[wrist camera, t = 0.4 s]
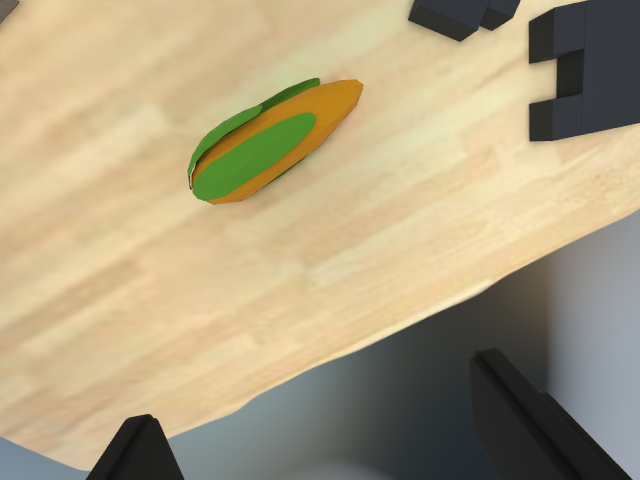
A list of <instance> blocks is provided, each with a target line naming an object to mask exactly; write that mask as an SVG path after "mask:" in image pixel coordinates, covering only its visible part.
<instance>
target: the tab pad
mask: <svg viewBox="0 0 640 480" xmlns="http://www.w3.org/2000/svg"><path fill="white" fill-rule="evenodd" d="M519 3H520V0H415V1H414V4H413V7H412V10H411V12H410V15H409V18H408V20H410V21H412V22H414V23H417V24H419V25H422V26H424V27H426V28H429V29H431V30H434V31H436V32H438V33H441V34H443V35H445V36H448V37H450V38H453V39H455V40H457V41H460V42H461V41H462V40H464V39H465V38H467V37H468V36H470V35H471V34H473V33H474V32H476V31H477V30H478V28H479V25H480V26H482V27H485V28H487V29H489V30H492V31H493V30H494V29H496V28H497V27H499V26H501V25H502V24H504V23H505V22H507V21H509V20H510V19H512V18H513V16H514V14H515V12H516V10H517V7H518V5H519Z"/></svg>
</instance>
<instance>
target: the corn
mask: <svg viewBox="0 0 640 480" xmlns="http://www.w3.org/2000/svg"><path fill="white" fill-rule="evenodd" d="M319 83H320V79H319V78H314V79H310V80H307V81H304V82H302V83H299V84H297V85H294V86H292V87H289V88H287V89H285V90H283V91H282V92H280V93H278V94H276V95H275V96H273V97H271V98H270V99H268V100H266V101H265V102H263V103H261V104H259V105H258V106H256V107H253V108H250V109H247V110H245V111H243V112H241V113H239V114H237V115H235V116H233V117H232V118H230V119H228V120H226V121H224V122H223V123H222V124H220V125H219V126H218V127H216V128H215V129H213V130H212V131H211V132H209V133H208V134H207V135H206V136H205V137H204V138H203V139H202V141H201V142H200V144H199V145H198V147H197V148H196V150H195V152H194V153H193V155H192V158H191V161H190V165H189V168H188V178H189V186H190V174H191V171H192V169H193V167H194V165H195V163H196V165H195V169H194V171H193V173H192V188H193V194H194V195H195V196H196V197H197V199H201V200H204V201H207V202H209V203H211V204H213V205H215V204H222V203H229V202H236V201H242V200H243V199H245V198H247V197H248V196H250V195H252V194H253V193H255V192H256V191H258V190H259V189H261V188H262V187H264V186H265V185H267V184H269V183H270V182H272V181H274V180H275V179H277V178H278V177H280V176H282V175H283V174H284V173H286V172H287V171H288V170H290V169H291V168H292V167H293V166H295V165H296V164H297V163H299V162H300V161H301V160H302V159H304V158H305V157H306V156H307V155H308V154H309V153H310V152H312V151H313V150H315V149H316V148H317V147H319V146H320V144H321V143H322V142H323V141H324V140H325V139H326V138H327V137H328V136H329V135H330V134H331V132H332V131H333V130H334V129H335V128H336V127H337V126H338V125H339V124H340V123H341V122H342V120H343V119H344V118H345V117H346V116H347V115H348V114H349V113H350V112H351V111H352V109H353V108H354V107H355V106H356V105H357V102H358V100H359V97H360V95H361V92H362V89H363V84H362V83H360V82H359V81H358V80H341V81H337V82H333V83H329V84H325V85H321V86H318V85H319ZM192 188H191V186H190V189H191V190H192Z"/></svg>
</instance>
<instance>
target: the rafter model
mask: <svg viewBox="0 0 640 480" xmlns="http://www.w3.org/2000/svg"><path fill="white" fill-rule="evenodd" d="M18 3H19V2H18V1H17V0H0V23H1V22H2V21H3V19H4V18H5V17H6V16H7V15H8V14H9V13H10V12H11V11H12V9H13V8H14V7H15V6H16V5H17V4H18Z"/></svg>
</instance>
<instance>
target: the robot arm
mask: <svg viewBox="0 0 640 480" xmlns="http://www.w3.org/2000/svg"><path fill="white" fill-rule="evenodd" d="M469 370H470V383H471V397H472V410H473V421H474V422H473V423H474V430H475V434H476V437H477V439H478V441H479V443H480V445H481V446H482V448H483V450H484V452H485V454H486V455H487V457H488V459H489V460H490V462H491V464H492V465H493V467H494V469H495V471H496V473H497V474H498V476H499V478H500V480H632V479H631V478H630V477H629V476H628V474H627V473H626V472H625V471H624V470H623V469H622V468H621V467H620V466H619V465H618V464H617V463H616V462H615V461H614V460H613V459H612V458H611V457H610V456H609V455H608V454H607V453H606V452H605V451H604V450H603V449H602V448H601V447H600V446H599V445H598V444H597V443H596V442H595V441H594V440H593V439H592V437H591V436H590V435H589V434H588V433H587V432H586V431H585V430H584V429H583V428H582V427H581V426H580V425H579V424H578V423H577V422H576V421H575V420H574V419H573V418H572V417H571V416H570V415H569V414H568V413H567V412H566V411H565V410H564V409H563V408H562V407H561V406H560V405H559V403H558V402H557V401H556V400H555V399H554V398H553V397H552V396H550V395H549V394H548V393H546V392H544V391H537V390H536V389H535V388H534V387H533V386H532V385H531V384H530V383H529V381H528V380H527V379H526V378H525V377H524V376H523V375H522V374H521V373H520V372H519V371H518V370H517V369H516V367H514V365H513V364H512V363H511V362H510V361H509V360H508V359H507V358H506V357H505V356H504V355H503V354H502V353H501V351H500V350H499V349H497V348H496V347H492V348H486V349H481V350H476V351H474V356H473V357H470V358H469ZM86 480H184V477H183V475H182V473H181V471H180V468H179V466H178V464H177V462H176V459H175V457H174V455H173V453H172V451H171V448H170V446H169V444H168V441H167V439H166V437H165V435H164V432H163V430H162V428H161V426H160V423H159V421H158V420H157V419H156V418H153V417H152V415H150V414H145V415H140V416H135V417H130V418H128V419H126V420H125V422H124V423H123V424H122V426H121V427H120V429H119V430H118V432H117V433H116V435H115V436H114V438H113V439H112V441H111V442H110V444H109V445H108V447H107V448H106V450H105V451H104V453H103V454H102V456H101V457H100V459H99V460H98V462H97V463H96V465H95V466H94V468H93V469H92V471H91V472H90V474H89V475H88V477H87V478H86Z"/></svg>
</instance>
